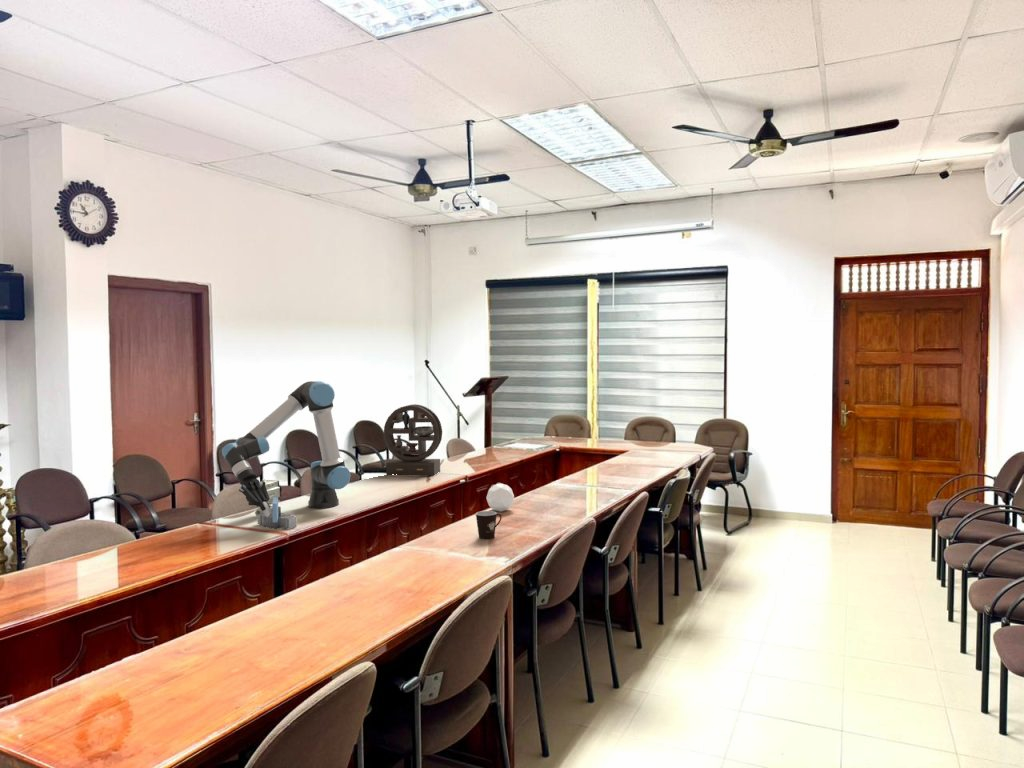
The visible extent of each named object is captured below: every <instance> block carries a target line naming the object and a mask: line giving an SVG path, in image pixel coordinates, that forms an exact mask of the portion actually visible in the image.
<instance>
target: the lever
mask: <svg viewBox="0 0 1024 768" xmlns="http://www.w3.org/2000/svg"><path fill="white" fill-rule="evenodd" d="M271 506H272V513H273V514H272V515H273V522H277V521H278V515H280V514H281V513H282V510H281V509H282V507H281V506H279V500H278V497H274V498H273V502H271Z"/></svg>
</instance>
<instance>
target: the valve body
mask: <svg viewBox="0 0 1024 768" xmlns="http://www.w3.org/2000/svg"><path fill="white" fill-rule="evenodd" d="M256 518H257V519H256V520H257V525H258V526H263V528H266V527H267V529H272V528H274V530H278V529H284V530H290V529H294V528H297V516H295V514H292V515H291V514H290V513H284V512H281V514H280V515H278V521H277V522H273V515H271V516H270V517H267V516H266V515H265V513H261V514H258V515H257V516H256ZM277 528H278V529H277Z"/></svg>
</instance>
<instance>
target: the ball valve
mask: <svg viewBox="0 0 1024 768" xmlns="http://www.w3.org/2000/svg"><path fill="white" fill-rule="evenodd" d="M261 482H262V483H263V482H265V486H266V489H267V492H268V495H269V498H270V499H269V500H268V504H269V506H270V509H271V511H272V503H273V498H274V497H278V501H280V499H281V497H282V490H283V489H282V486H281V484H280V481H279V480H275V479H274V480H273V479H272V480H270V479H266V478H263V479H262V480H261ZM245 499H246V501H247V503H248V506H254V505H253V504H252V503H251V502H250V500H249V499H248V498H247V497H246V496H245ZM254 502H255V501H254ZM255 506H256V507H257V505H255ZM261 513H264V512H263V511H262V510H261V509H260V507H257V509H256V510H255V512H254V514H255V516H256V517H257V515H258V514H261Z"/></svg>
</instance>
